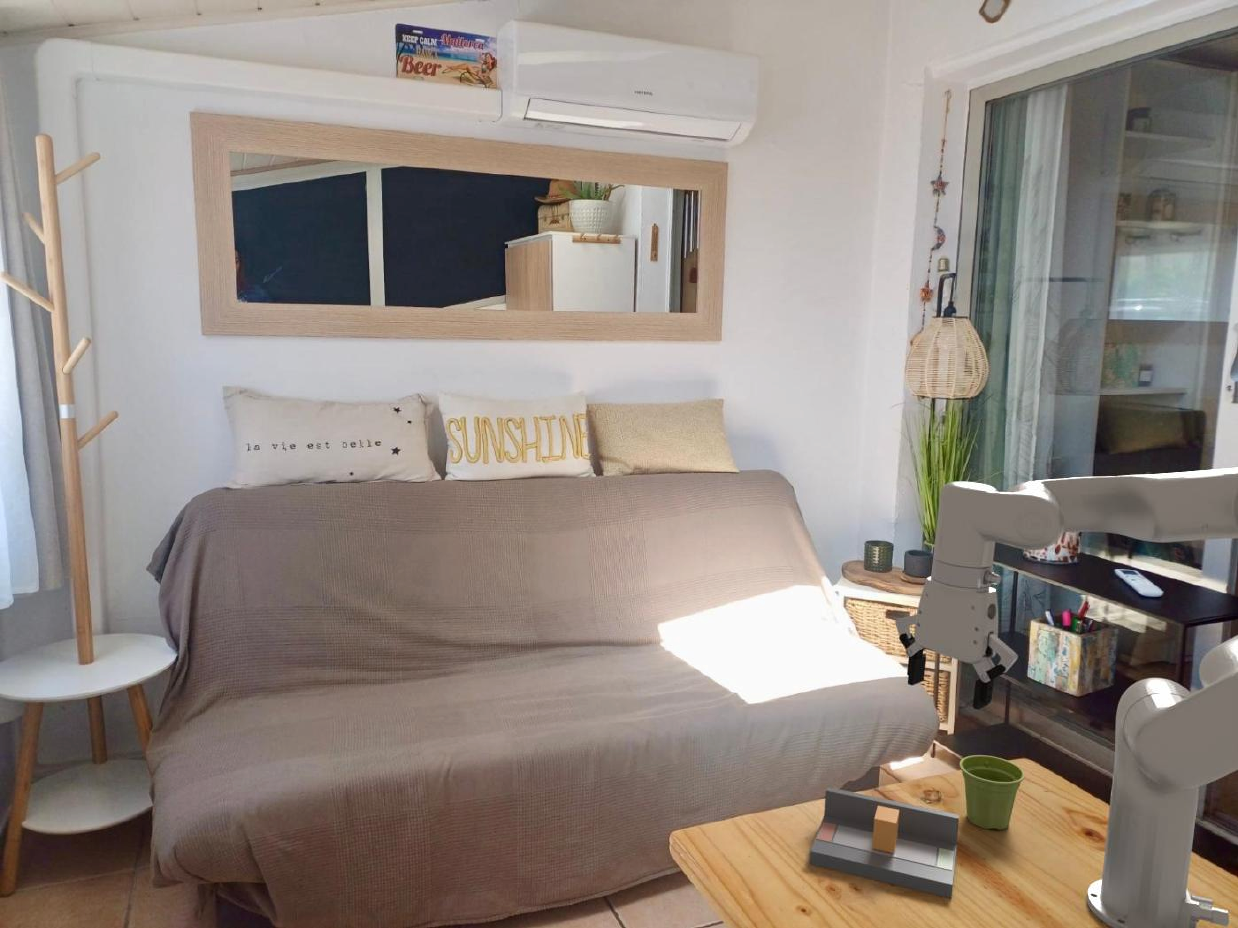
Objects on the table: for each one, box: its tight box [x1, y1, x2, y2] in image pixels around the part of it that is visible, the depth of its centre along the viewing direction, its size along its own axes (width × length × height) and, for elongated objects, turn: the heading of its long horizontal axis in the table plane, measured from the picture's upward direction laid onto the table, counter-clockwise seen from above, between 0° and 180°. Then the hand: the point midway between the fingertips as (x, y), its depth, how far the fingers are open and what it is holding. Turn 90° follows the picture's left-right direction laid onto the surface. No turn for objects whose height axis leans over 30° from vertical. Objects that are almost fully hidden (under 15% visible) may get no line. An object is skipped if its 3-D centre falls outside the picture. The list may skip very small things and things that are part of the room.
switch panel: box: [809, 786, 960, 899], centre depth 132 cm, size 19×12×6 cm, turn 67°
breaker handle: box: [872, 806, 899, 853], centre depth 131 cm, size 3×4×4 cm
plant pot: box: [959, 754, 1026, 831], centre depth 143 cm, size 9×9×9 cm
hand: (947, 694), depth 126 cm, fingers open, 9 cm apart
